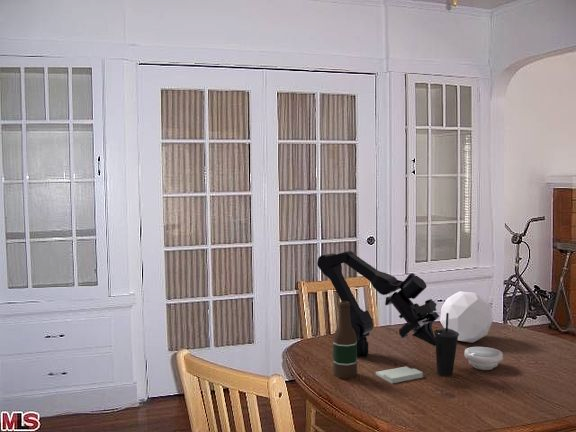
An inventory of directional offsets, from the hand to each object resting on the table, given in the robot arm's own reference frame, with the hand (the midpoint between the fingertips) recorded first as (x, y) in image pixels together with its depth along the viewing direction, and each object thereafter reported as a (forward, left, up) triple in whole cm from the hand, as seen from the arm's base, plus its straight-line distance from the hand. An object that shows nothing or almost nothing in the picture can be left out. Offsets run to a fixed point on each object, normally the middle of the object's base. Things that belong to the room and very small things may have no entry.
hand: (436, 345), depth 183 cm
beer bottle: (-30, +1, -9) cm, 31 cm away
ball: (+23, +33, -9) cm, 41 cm away
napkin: (-13, -2, -9) cm, 16 cm away
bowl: (+17, +3, -9) cm, 19 cm away
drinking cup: (+2, -2, -9) cm, 9 cm away
